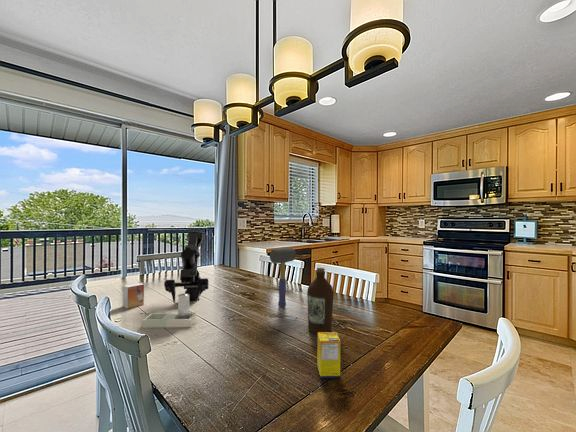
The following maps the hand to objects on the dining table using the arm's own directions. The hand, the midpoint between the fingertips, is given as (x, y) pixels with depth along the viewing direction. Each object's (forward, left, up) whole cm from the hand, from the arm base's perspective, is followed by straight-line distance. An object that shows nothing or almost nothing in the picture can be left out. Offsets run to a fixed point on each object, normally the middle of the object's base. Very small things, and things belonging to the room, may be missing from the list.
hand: (185, 301), depth 120 cm
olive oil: (-49, +32, -8) cm, 59 cm away
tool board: (+6, +2, -8) cm, 10 cm away
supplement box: (-36, +59, -8) cm, 69 cm away
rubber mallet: (-45, +2, -8) cm, 46 cm away
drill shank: (+1, +4, -8) cm, 9 cm away
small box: (+23, -28, -8) cm, 37 cm away
